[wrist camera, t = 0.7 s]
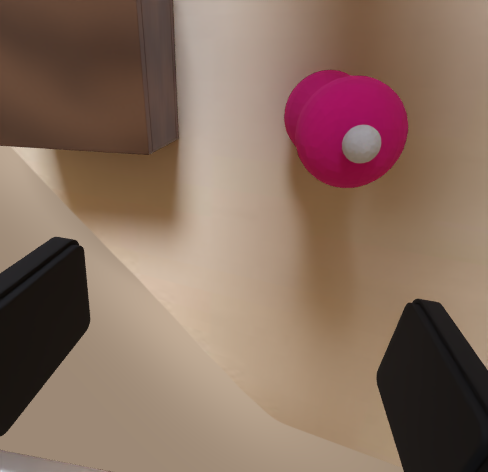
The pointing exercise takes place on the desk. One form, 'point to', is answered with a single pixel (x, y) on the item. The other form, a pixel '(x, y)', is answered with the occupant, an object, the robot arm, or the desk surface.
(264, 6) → the desk surface
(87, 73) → the cabinet
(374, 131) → the pepper mill
